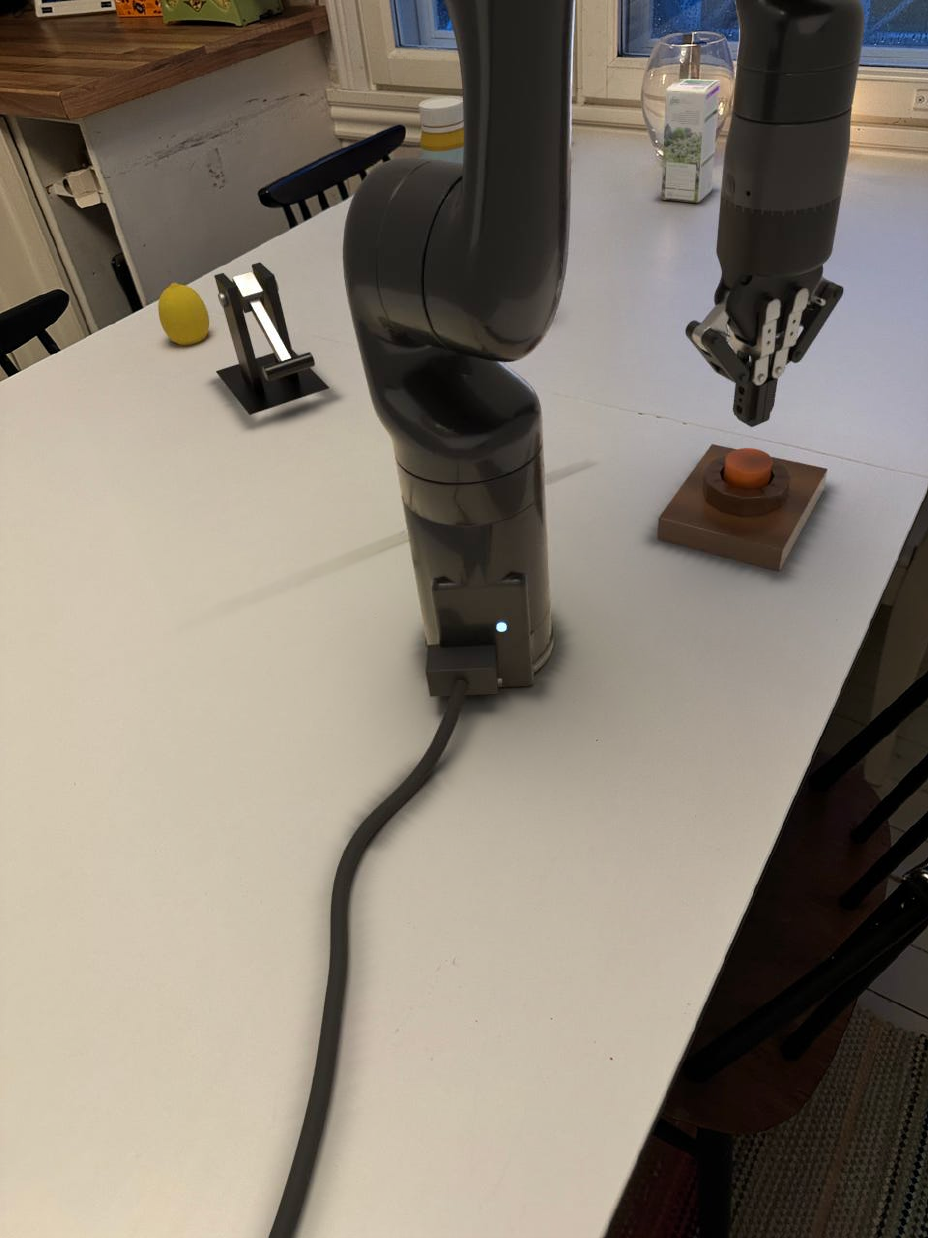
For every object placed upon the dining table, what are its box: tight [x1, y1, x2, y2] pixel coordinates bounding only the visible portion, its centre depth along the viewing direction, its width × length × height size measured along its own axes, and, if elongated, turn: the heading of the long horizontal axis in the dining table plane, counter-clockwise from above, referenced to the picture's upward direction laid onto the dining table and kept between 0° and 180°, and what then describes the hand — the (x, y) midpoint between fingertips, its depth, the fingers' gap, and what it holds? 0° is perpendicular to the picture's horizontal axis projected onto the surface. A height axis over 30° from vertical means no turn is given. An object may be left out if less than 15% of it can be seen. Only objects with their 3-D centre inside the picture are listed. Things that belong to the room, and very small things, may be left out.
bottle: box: [418, 95, 464, 163], centre depth 132 cm, size 7×7×15 cm
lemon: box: [157, 282, 210, 346], centre depth 109 cm, size 6×6×8 cm
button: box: [724, 447, 772, 490], centre depth 74 cm, size 4×4×2 cm
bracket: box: [213, 261, 330, 416], centre depth 97 cm, size 12×9×13 cm
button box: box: [656, 443, 828, 572], centre depth 76 cm, size 12×10×4 cm
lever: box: [231, 270, 316, 381], centre depth 93 cm, size 12×5×2 cm, turn 29°
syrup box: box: [661, 78, 721, 204], centre depth 129 cm, size 6×6×14 cm
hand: (752, 419), depth 71 cm, fingers closed
